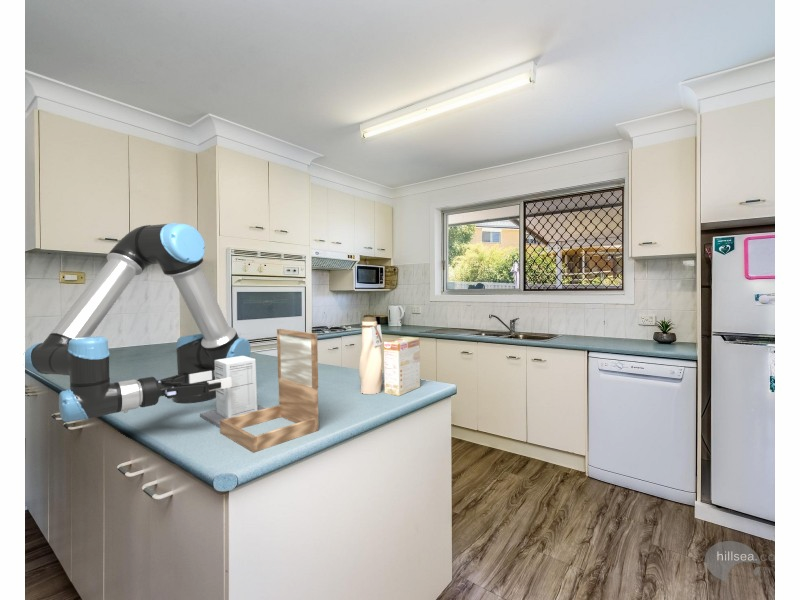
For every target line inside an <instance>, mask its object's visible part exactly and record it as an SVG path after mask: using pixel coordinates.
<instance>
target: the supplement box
mask: <svg viewBox="0 0 800 600" xmlns="http://www.w3.org/2000/svg"><path fill="white" fill-rule="evenodd" d="M256 360H257V359H256V358H254V357H253V358H252V357H246V356H238V357H231V358H225V359H218V360H215V370H214V376H215V380H218V379H223V378H229V377H231V381H232V387H229V388H224V389H219V390H216V397H215V402H216V404H215V405H216V406H215V407H216V410H217V413H218V414H220V415H221V416H223V417H225V418H226V419H228V418H231V417H235V416H239V415H243V414H247V413H251V412H254V411H258V410H257V405H258V391H257V389H258V388H257V363H256Z"/></svg>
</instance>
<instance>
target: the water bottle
mask: <svg viewBox="0 0 800 600" xmlns="http://www.w3.org/2000/svg"><path fill="white" fill-rule="evenodd" d="M359 326H360V327H361V352H360V356H359V365H358V374H359V381H360V385H361V386H360V391H361V392H360V393H361V394H362V393H363V395H376V393H377V394H380V393H381V391H382V384H383V369H382V365H383V355H382V347H381V345H384V341H383V336H382V328H381V324H378V321H377V318H376V317H374V316H373V317H371V316H370V317H369V316H368V317H366V316H364V317H363V318H362V321H361V324H359ZM379 392H380V393H379Z"/></svg>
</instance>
